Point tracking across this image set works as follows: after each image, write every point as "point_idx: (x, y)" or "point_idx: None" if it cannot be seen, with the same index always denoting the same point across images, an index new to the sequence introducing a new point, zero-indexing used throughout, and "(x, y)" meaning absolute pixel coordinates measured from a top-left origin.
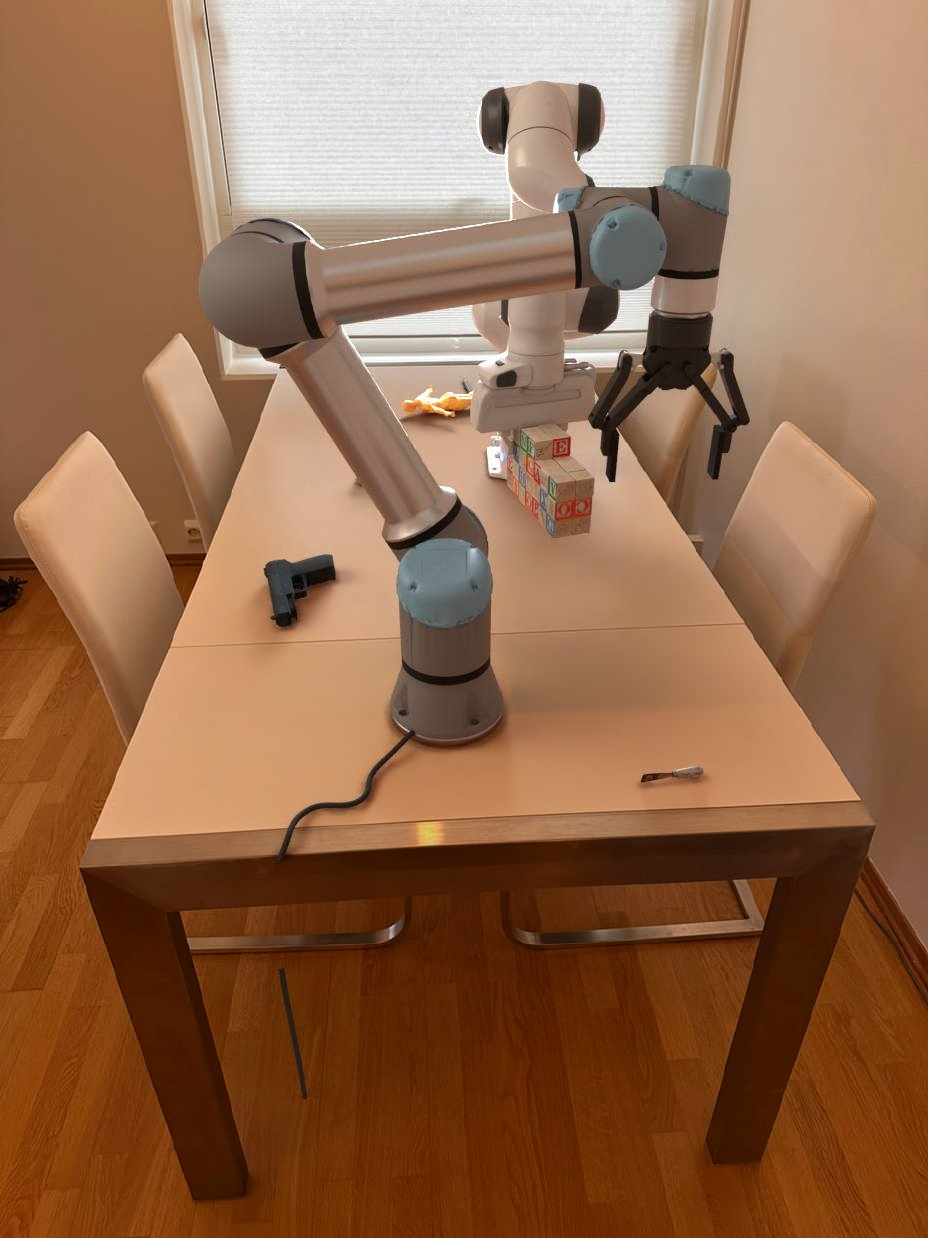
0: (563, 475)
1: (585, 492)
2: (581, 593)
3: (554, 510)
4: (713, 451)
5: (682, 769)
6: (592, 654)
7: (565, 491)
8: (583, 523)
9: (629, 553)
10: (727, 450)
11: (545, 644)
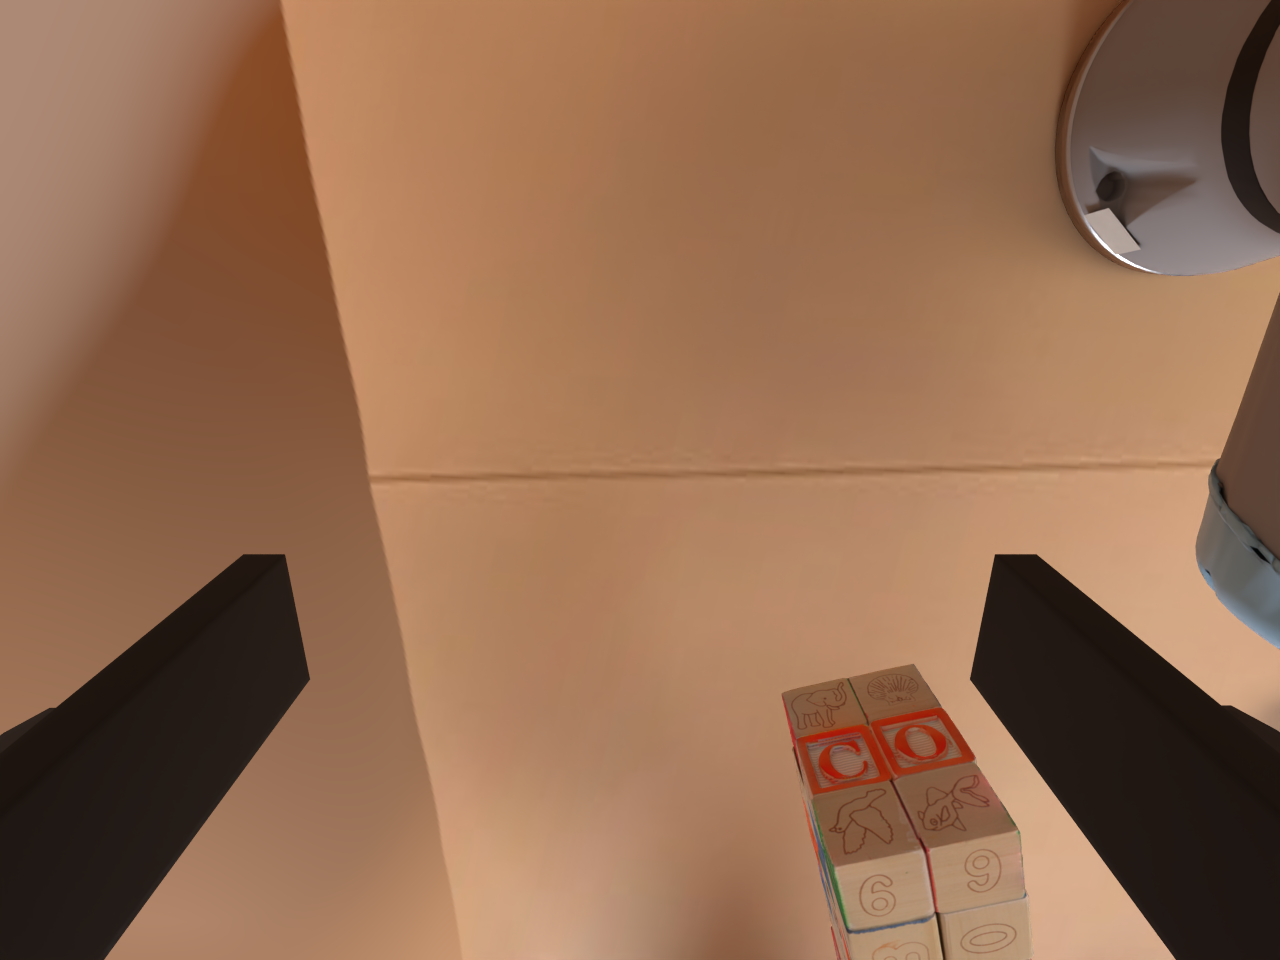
0: (964, 891)
1: (853, 806)
2: (725, 629)
3: (961, 736)
4: (183, 745)
5: None
6: (760, 364)
7: (953, 801)
8: (816, 712)
9: (571, 787)
10: (35, 724)
11: (868, 415)
